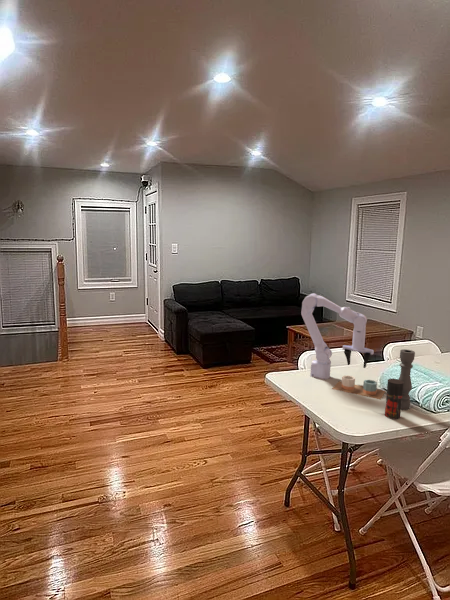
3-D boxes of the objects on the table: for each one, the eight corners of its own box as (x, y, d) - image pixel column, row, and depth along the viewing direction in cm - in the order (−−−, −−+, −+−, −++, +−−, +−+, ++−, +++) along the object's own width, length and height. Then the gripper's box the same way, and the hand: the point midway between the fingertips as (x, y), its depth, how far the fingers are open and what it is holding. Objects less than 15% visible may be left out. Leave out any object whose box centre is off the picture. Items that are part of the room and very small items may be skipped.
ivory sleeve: (340, 388, 194) (341, 378, 193) (343, 384, 199) (344, 374, 198) (352, 390, 191) (353, 380, 190) (355, 387, 196) (356, 377, 195)
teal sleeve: (361, 392, 189) (362, 382, 188) (364, 389, 193) (365, 378, 193) (374, 395, 186) (375, 385, 185) (377, 391, 191) (378, 381, 190)
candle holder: (409, 405, 179) (414, 350, 175) (410, 411, 173) (416, 354, 169) (393, 403, 181) (399, 348, 177) (394, 408, 175) (400, 352, 171)
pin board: (331, 391, 193) (332, 380, 192) (338, 383, 203) (339, 373, 202) (380, 402, 182) (381, 390, 181) (385, 393, 192) (386, 382, 191)
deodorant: (382, 412, 171) (385, 378, 168) (395, 412, 171) (399, 378, 169) (388, 419, 165) (392, 384, 162) (402, 419, 165) (406, 383, 163)
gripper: (341, 338, 199) (339, 365, 202) (372, 343, 192) (370, 370, 194) (345, 335, 205) (343, 361, 208) (375, 340, 198) (373, 367, 200)
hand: (356, 365), depth 201 cm, fingers open, 7 cm apart
